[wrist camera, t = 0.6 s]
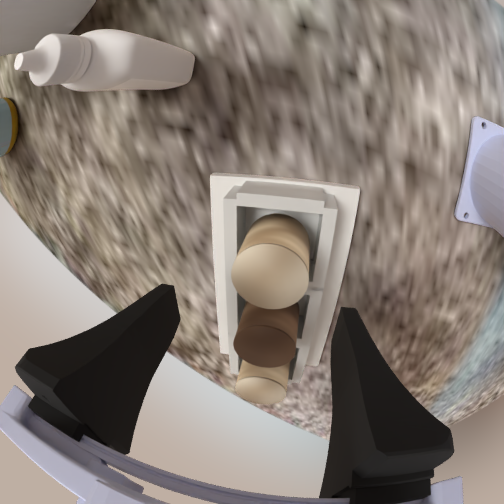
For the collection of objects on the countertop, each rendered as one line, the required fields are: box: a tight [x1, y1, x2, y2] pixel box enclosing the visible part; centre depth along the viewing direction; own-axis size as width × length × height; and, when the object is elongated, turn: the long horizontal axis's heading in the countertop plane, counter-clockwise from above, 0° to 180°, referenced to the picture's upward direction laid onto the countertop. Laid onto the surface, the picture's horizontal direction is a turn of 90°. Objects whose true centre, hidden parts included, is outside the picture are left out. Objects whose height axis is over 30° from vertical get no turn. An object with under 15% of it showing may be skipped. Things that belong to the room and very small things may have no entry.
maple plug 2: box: [235, 360, 290, 404], centre depth 22 cm, size 4×4×4 cm
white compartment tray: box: [210, 173, 360, 384], centre depth 21 cm, size 10×18×4 cm, turn 179°
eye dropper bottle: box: [14, 29, 195, 92], centre depth 11 cm, size 4×6×12 cm
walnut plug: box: [233, 301, 299, 368], centre depth 19 cm, size 4×4×4 cm
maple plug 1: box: [231, 213, 310, 309], centre depth 16 cm, size 4×4×4 cm
